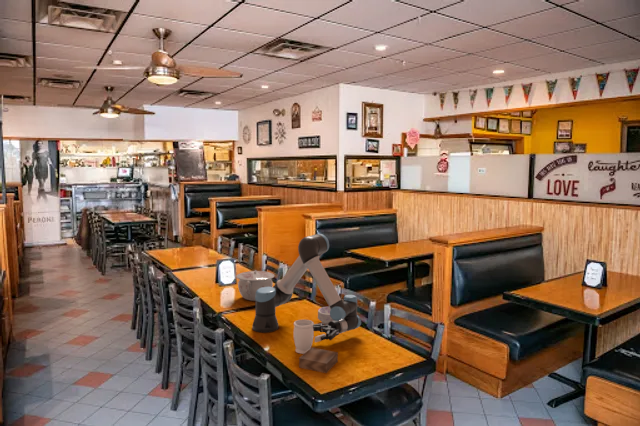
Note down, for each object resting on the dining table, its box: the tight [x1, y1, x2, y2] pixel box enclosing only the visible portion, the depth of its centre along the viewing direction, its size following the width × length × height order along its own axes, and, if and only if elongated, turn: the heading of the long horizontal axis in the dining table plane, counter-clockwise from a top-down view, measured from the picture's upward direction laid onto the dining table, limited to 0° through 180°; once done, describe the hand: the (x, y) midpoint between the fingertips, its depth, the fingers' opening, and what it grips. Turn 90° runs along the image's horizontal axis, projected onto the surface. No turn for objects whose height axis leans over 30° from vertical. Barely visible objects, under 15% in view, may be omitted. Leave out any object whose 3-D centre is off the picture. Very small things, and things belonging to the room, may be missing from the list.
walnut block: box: [298, 347, 339, 374], centre depth 218 cm, size 14×14×5 cm
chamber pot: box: [235, 269, 275, 302], centre depth 325 cm, size 28×28×21 cm
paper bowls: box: [317, 306, 334, 325], centre depth 276 cm, size 15×15×8 cm
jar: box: [293, 319, 315, 355], centre depth 233 cm, size 11×10×15 cm
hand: (306, 335), depth 234 cm, fingers open, 13 cm apart
